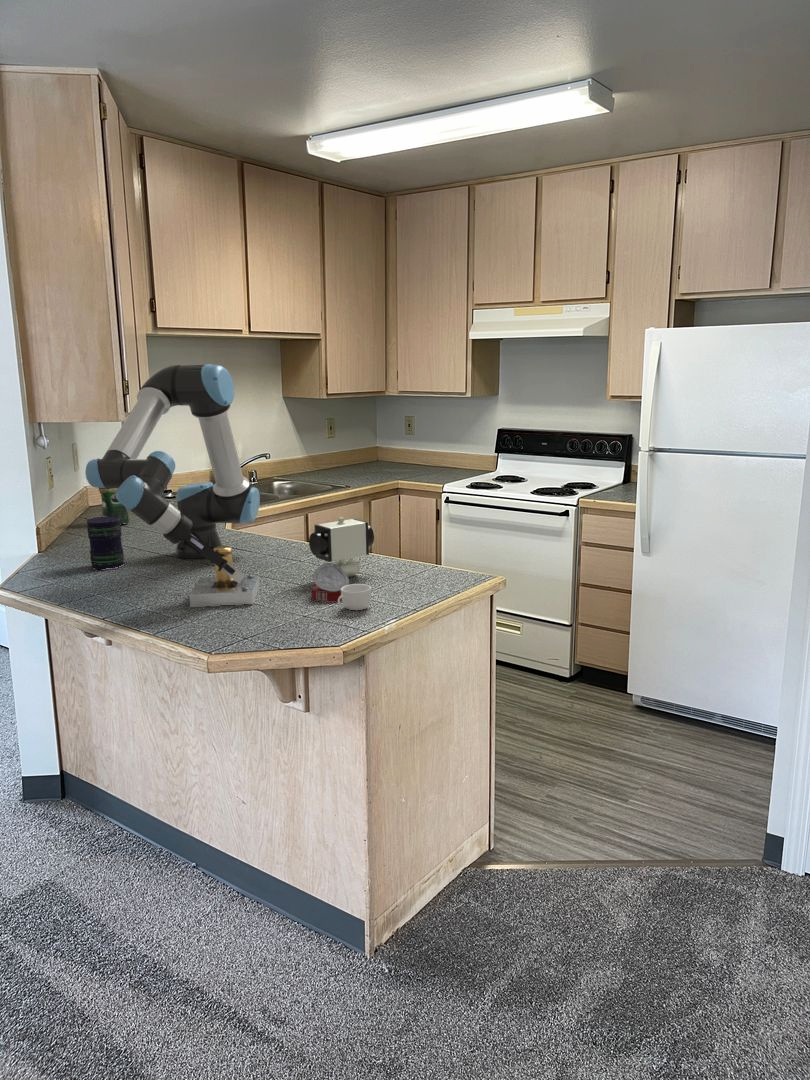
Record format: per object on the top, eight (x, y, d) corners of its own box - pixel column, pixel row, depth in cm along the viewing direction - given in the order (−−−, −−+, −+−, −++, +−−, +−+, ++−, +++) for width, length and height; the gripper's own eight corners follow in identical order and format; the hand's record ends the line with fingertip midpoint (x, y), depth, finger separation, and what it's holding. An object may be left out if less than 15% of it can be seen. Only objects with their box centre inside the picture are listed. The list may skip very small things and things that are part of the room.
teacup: (357, 602, 209) (357, 582, 207) (378, 607, 203) (377, 587, 202) (328, 610, 202) (327, 590, 200) (349, 617, 196) (348, 596, 195)
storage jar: (84, 568, 248) (79, 521, 245) (109, 561, 256) (104, 515, 253) (107, 571, 243) (102, 523, 240) (131, 564, 252) (127, 517, 249)
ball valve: (359, 569, 241) (357, 511, 237) (375, 574, 234) (374, 515, 230) (307, 579, 231) (304, 519, 227) (323, 586, 224) (320, 523, 220)
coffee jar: (123, 521, 320) (118, 475, 316) (131, 524, 314) (127, 477, 310) (99, 525, 314) (94, 478, 310) (107, 528, 308) (103, 480, 304)
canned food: (345, 609, 218) (362, 577, 216) (334, 616, 209) (351, 584, 207) (310, 588, 220) (326, 557, 218) (297, 594, 210) (314, 562, 208)
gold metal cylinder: (218, 589, 217) (215, 546, 214) (235, 588, 217) (232, 545, 214) (215, 594, 212) (212, 550, 209) (233, 593, 212) (230, 549, 210)
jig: (201, 589, 222) (200, 575, 221) (259, 587, 223) (258, 573, 222) (190, 607, 206) (189, 592, 206) (252, 604, 208) (252, 589, 207)
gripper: (154, 529, 211) (220, 580, 222) (170, 541, 196) (239, 596, 207) (173, 507, 212) (237, 559, 224) (190, 518, 197) (258, 573, 209)
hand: (238, 577), depth 215 cm, fingers closed on gold metal cylinder, 4 cm apart
